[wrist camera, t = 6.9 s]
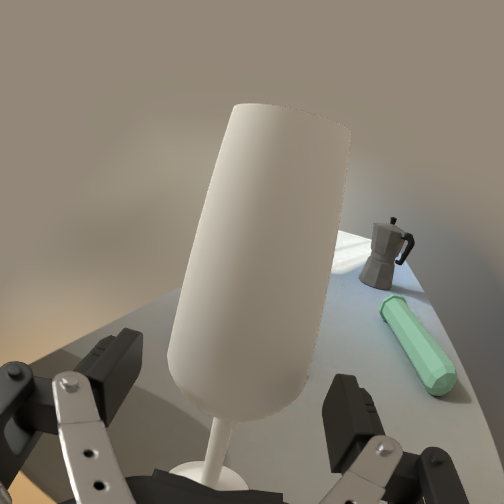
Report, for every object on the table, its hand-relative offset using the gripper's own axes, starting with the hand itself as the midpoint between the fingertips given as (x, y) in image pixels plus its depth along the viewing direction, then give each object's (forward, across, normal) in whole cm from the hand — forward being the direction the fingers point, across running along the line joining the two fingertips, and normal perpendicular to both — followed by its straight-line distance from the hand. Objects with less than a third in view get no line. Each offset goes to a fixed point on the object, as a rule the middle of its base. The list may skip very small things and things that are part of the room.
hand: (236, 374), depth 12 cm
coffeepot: (+66, +33, -14) cm, 75 cm away
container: (+31, +28, -14) cm, 44 cm away
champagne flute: (+2, 0, -14) cm, 14 cm away
